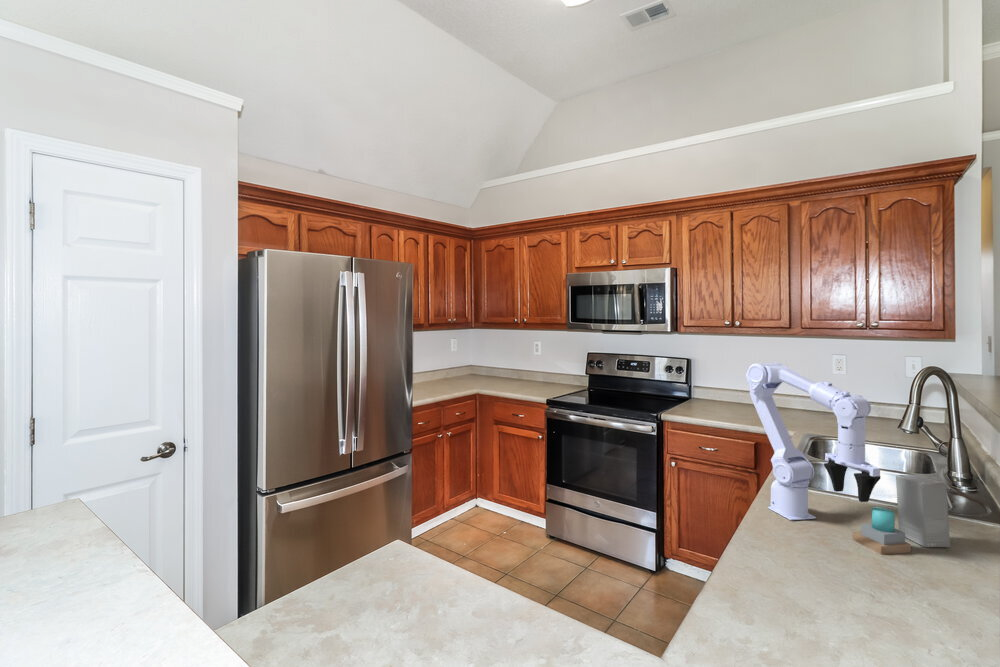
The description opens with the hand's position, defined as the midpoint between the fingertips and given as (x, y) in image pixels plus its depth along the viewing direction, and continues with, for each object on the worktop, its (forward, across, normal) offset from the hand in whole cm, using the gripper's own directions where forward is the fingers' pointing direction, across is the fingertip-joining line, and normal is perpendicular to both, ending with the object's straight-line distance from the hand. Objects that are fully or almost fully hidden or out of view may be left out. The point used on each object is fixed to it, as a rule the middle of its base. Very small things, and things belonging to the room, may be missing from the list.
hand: (850, 496), depth 126 cm
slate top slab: (+8, +6, +3) cm, 11 cm away
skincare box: (+11, +5, +16) cm, 19 cm away
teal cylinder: (+6, +6, +3) cm, 9 cm away
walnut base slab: (+11, +6, +3) cm, 13 cm away
